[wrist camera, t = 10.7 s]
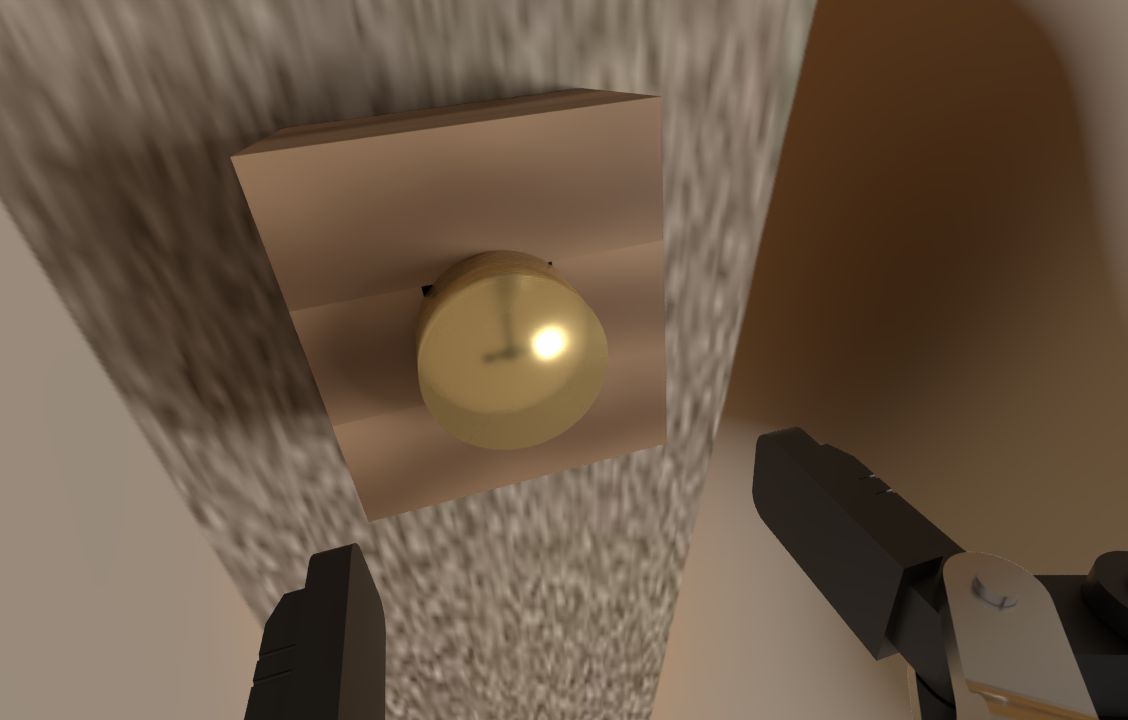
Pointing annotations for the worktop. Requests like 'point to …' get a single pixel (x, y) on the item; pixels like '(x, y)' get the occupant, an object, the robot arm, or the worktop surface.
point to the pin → (507, 351)
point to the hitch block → (449, 235)
